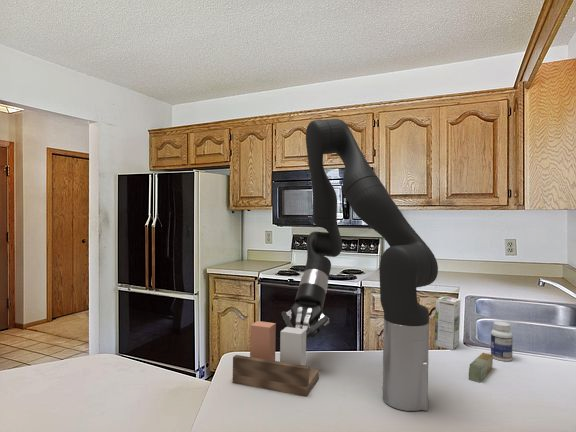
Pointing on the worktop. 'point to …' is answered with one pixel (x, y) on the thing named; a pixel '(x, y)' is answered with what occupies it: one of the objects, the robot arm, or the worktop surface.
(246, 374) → the console
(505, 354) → the pill bottle
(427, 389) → the robot arm
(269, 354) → the orange tall block
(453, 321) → the syrup box
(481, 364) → the medication box
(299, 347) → the grey rectangular block
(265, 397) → the worktop surface
